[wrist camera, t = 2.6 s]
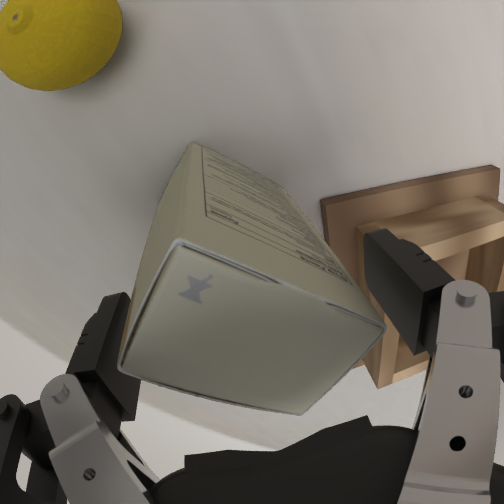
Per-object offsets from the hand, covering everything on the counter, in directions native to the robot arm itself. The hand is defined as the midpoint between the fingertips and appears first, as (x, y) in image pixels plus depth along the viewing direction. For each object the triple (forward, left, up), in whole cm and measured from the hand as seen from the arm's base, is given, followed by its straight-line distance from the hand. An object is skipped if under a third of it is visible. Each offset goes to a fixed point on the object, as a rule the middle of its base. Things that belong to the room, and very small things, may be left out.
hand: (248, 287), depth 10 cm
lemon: (-5, +11, -9) cm, 15 cm away
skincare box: (0, 0, -9) cm, 9 cm away
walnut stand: (+13, -9, -9) cm, 18 cm away
